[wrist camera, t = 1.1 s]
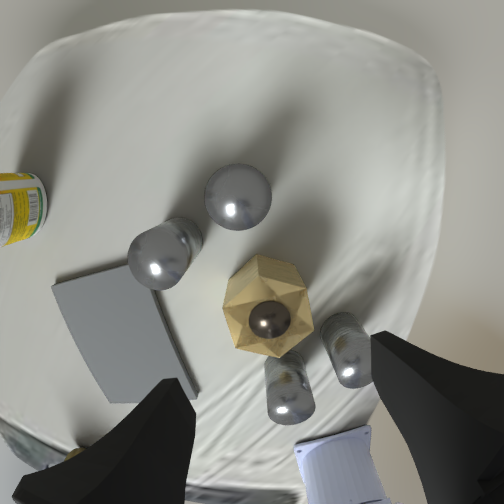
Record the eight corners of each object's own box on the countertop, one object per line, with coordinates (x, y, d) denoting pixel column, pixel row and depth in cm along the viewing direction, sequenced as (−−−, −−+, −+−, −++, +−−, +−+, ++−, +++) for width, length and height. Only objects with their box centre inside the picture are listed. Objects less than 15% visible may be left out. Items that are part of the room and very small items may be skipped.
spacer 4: (359, 341, 20) (383, 379, 15) (322, 351, 20) (339, 394, 15) (356, 307, 19) (384, 342, 14) (317, 318, 19) (335, 358, 14)
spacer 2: (270, 211, 17) (278, 221, 13) (224, 222, 18) (213, 237, 13) (259, 164, 17) (262, 156, 12) (212, 176, 17) (197, 173, 12)
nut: (304, 315, 19) (317, 349, 15) (243, 329, 19) (241, 366, 15) (289, 245, 18) (302, 265, 14) (223, 261, 18) (215, 286, 14)
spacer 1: (207, 257, 18) (192, 283, 13) (165, 267, 18) (139, 295, 13) (195, 212, 17) (174, 223, 13) (152, 224, 18) (120, 239, 13)
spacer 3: (305, 375, 20) (317, 419, 16) (269, 383, 21) (272, 428, 16) (300, 345, 20) (312, 389, 15) (260, 354, 20) (263, 399, 15)
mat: (198, 394, 21) (197, 399, 20) (112, 399, 21) (110, 403, 21) (143, 259, 18) (140, 262, 18) (54, 284, 19) (50, 286, 18)
